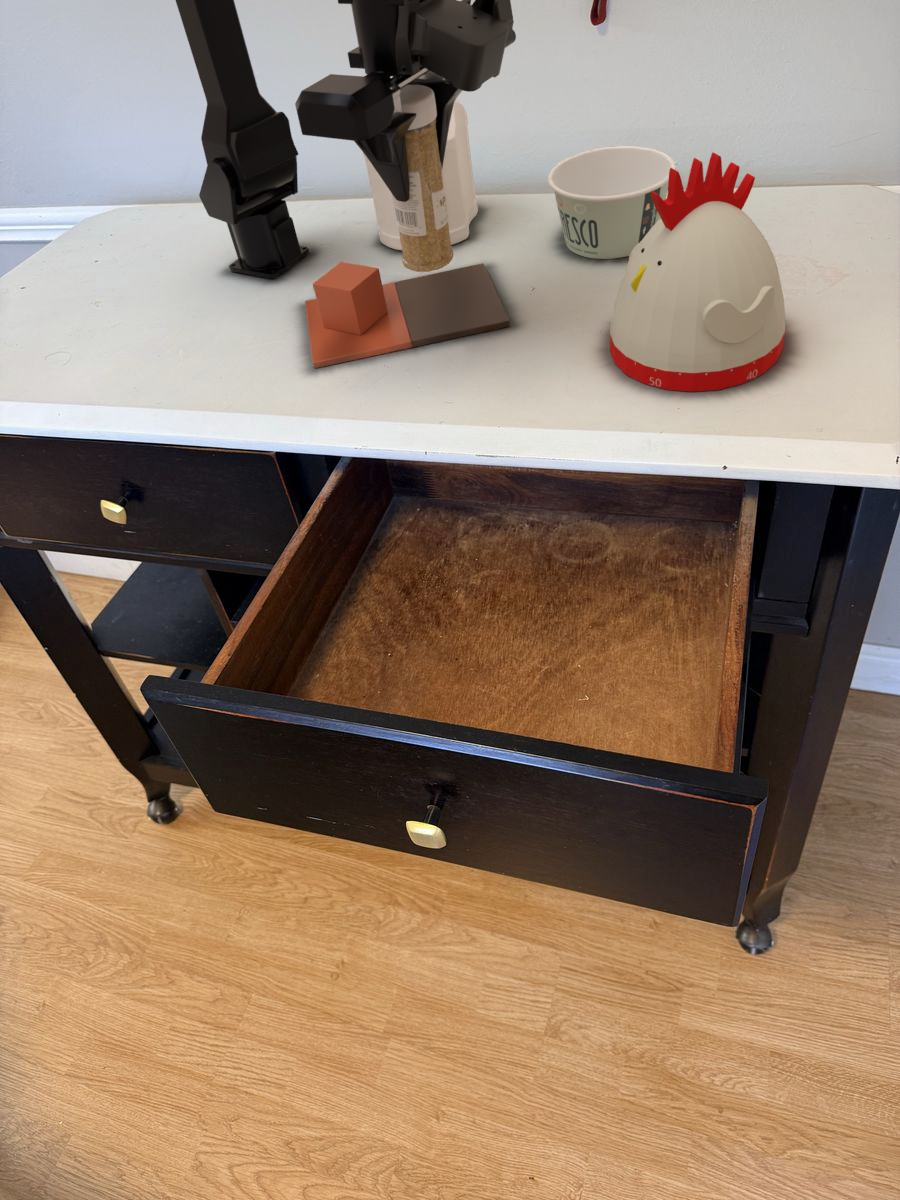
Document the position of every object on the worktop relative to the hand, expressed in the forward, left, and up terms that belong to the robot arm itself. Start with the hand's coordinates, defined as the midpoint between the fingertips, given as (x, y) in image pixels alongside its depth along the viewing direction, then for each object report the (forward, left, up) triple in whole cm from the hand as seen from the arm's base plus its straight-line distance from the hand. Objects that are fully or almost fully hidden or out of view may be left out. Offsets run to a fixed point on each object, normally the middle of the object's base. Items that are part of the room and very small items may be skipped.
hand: (419, 188), depth 74 cm
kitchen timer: (+22, +5, -13) cm, 26 cm away
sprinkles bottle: (0, 0, -7) cm, 7 cm away
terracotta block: (-8, -2, -12) cm, 15 cm away
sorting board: (-5, +1, -13) cm, 14 cm away
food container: (+7, +21, -13) cm, 25 cm away
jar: (-13, +18, -13) cm, 25 cm away
